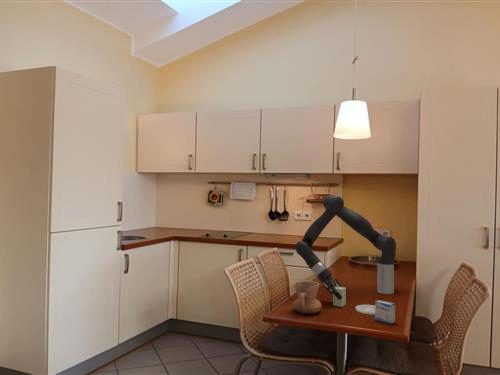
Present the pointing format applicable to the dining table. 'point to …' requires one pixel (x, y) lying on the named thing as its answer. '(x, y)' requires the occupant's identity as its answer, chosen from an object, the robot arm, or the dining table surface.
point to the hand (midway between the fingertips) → (342, 297)
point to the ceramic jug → (306, 297)
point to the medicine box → (385, 311)
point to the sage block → (343, 300)
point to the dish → (366, 309)
